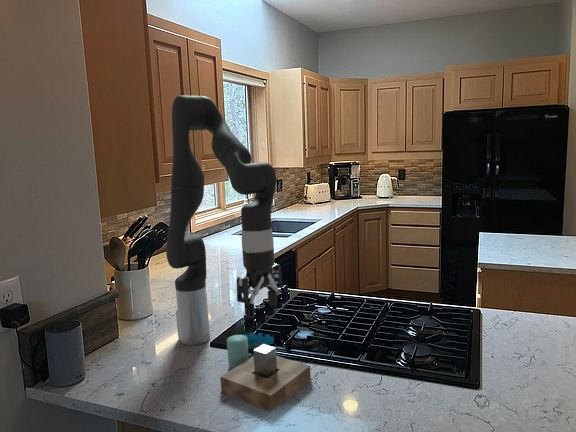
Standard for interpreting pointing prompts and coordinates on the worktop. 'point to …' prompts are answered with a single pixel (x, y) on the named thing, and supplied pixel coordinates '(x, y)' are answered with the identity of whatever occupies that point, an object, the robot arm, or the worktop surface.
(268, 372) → the square peg
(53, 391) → the worktop surface
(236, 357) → the round peg
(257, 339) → the gear
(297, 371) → the socket block
